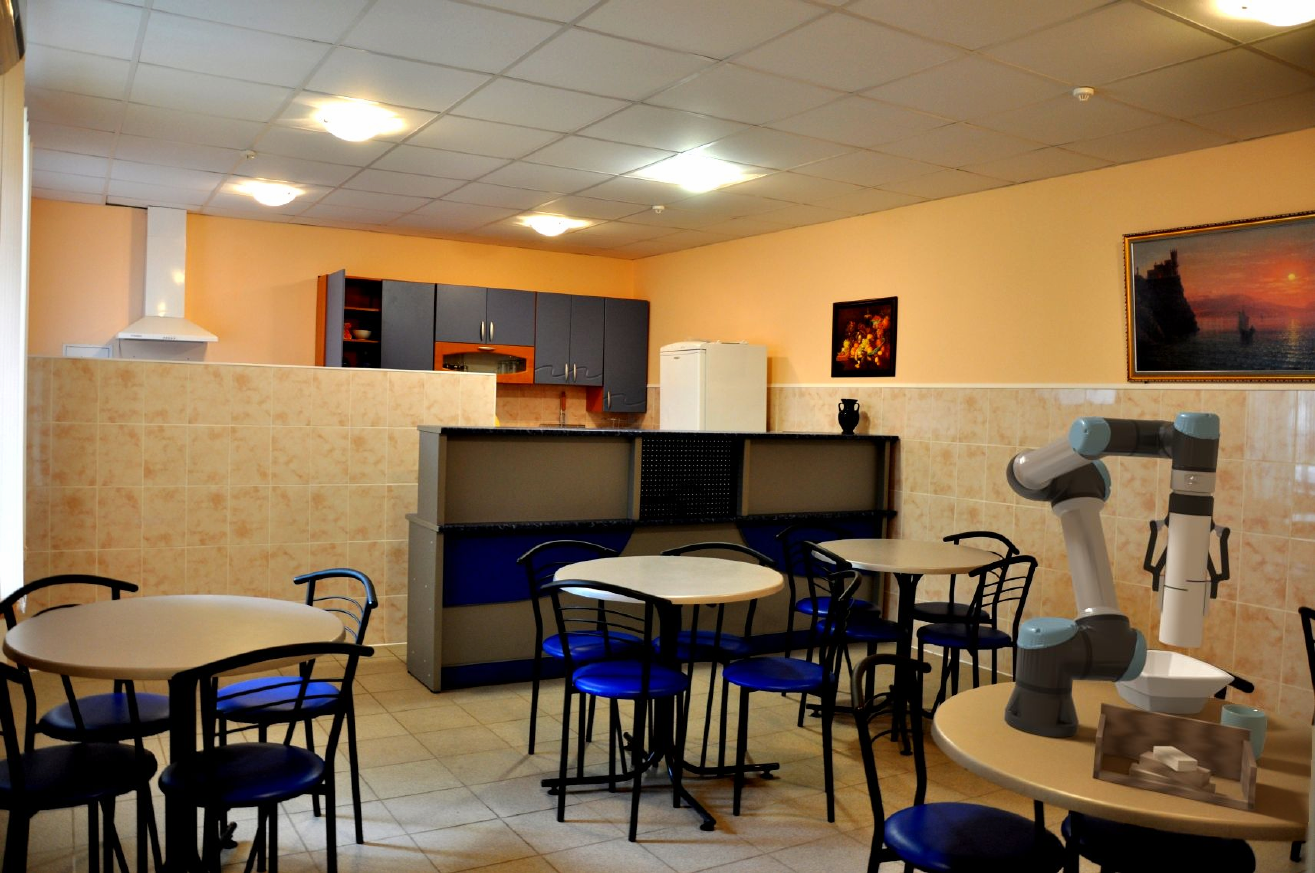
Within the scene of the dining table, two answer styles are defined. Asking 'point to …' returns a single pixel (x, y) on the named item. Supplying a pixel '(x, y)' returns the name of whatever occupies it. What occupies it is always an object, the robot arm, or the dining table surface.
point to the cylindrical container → (1185, 580)
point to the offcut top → (1175, 758)
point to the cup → (1247, 724)
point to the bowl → (1173, 684)
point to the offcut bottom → (1166, 779)
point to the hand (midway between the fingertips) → (1182, 611)
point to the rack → (1197, 739)
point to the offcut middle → (1174, 771)
